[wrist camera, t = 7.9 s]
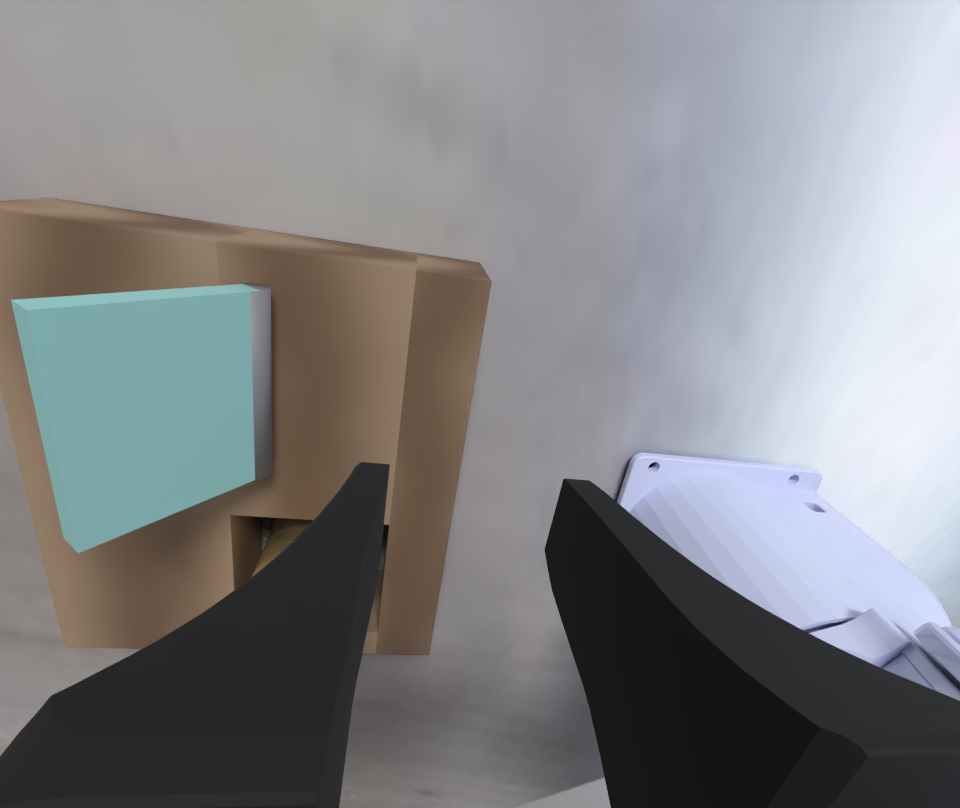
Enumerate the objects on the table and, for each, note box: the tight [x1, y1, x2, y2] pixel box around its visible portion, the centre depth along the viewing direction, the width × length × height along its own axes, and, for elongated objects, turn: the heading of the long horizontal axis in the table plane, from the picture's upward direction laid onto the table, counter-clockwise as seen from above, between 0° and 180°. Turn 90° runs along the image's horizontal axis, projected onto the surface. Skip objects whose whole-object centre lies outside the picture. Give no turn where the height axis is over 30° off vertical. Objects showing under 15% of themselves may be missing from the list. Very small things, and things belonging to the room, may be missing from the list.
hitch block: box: [0, 198, 492, 655], centre depth 19 cm, size 14×16×4 cm
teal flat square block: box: [11, 283, 273, 553], centre depth 13 cm, size 6×6×1 cm
